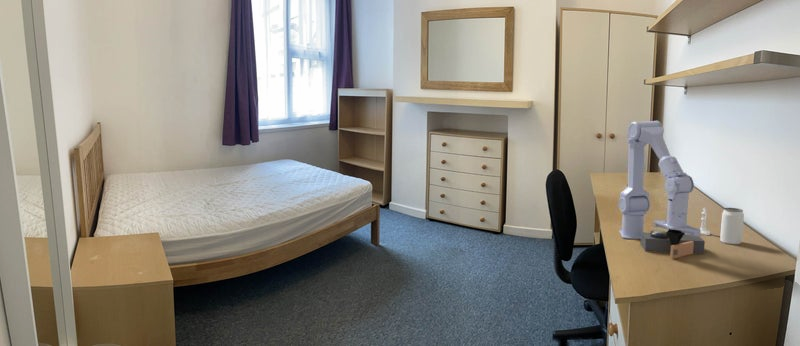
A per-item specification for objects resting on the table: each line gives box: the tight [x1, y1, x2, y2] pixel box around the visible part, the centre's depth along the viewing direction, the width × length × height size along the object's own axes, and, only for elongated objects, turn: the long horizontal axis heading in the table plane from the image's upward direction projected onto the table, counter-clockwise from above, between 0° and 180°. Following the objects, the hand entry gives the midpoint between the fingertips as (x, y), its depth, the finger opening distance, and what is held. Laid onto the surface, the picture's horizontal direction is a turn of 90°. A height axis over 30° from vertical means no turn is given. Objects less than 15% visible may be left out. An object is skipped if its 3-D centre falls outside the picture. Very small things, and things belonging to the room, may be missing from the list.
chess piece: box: [699, 207, 711, 236], centre depth 188 cm, size 5×5×10 cm
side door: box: [669, 241, 694, 259], centre depth 164 cm, size 1×10×4 cm, turn 114°
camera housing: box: [640, 230, 706, 255], centre depth 172 cm, size 8×18×6 cm, turn 75°
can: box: [719, 207, 745, 246], centre depth 177 cm, size 6×6×12 cm
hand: (674, 251), depth 165 cm, fingers closed, pressing on side door
